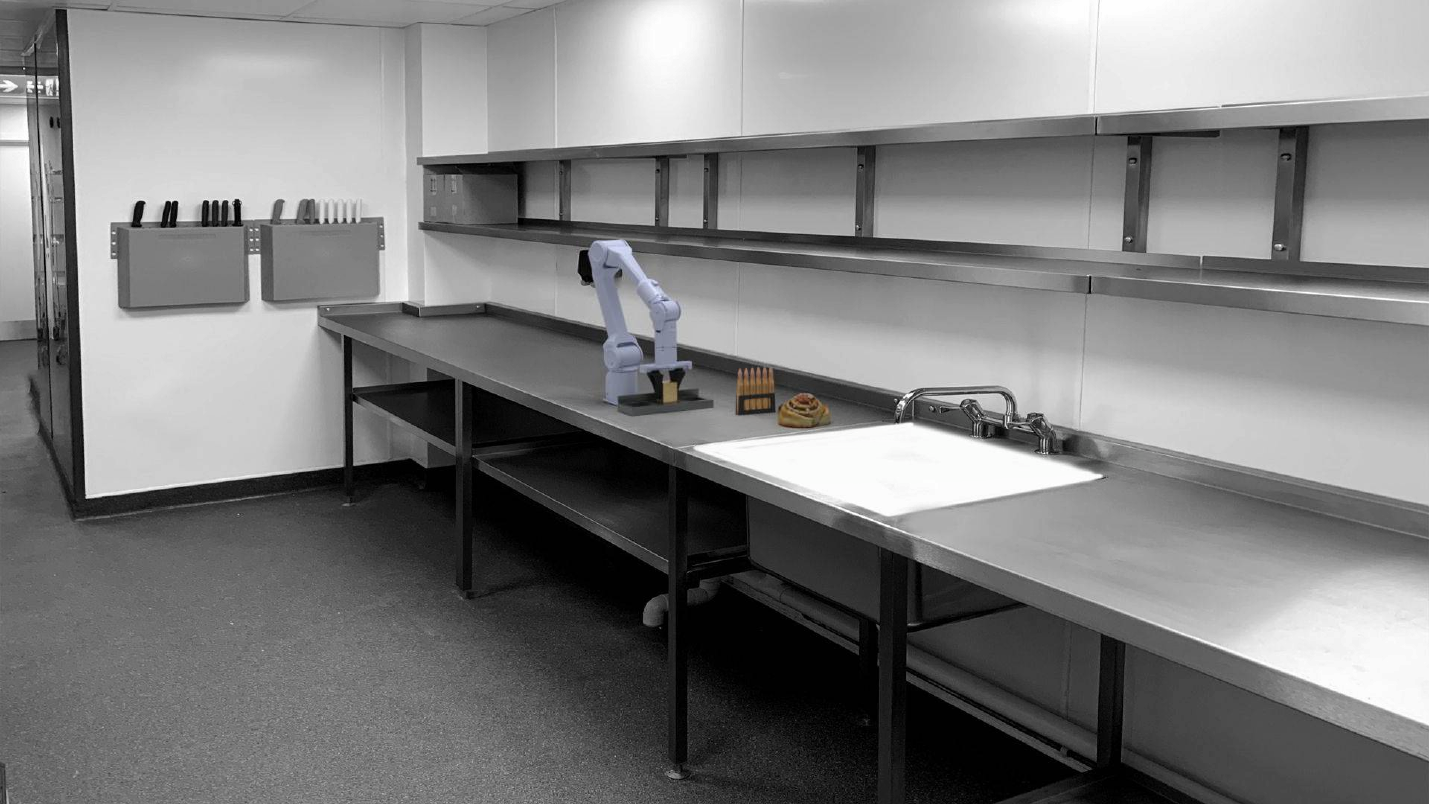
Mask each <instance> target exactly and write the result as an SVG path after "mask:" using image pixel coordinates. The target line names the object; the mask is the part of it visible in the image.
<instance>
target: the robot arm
mask: <svg viewBox="0 0 1429 804" xmlns="http://www.w3.org/2000/svg"><path fill="white" fill-rule="evenodd" d="M587 256H588V259H589V262H590V267H591V273H592V274H591V276H592V280H593V283H594V287H595V291H596V296H597V300H598V303H599V307H600V311H601V314H602V318H603V321H604V326H605V329H606V333H607V339H606V340H605V342H604V343H603V345H602V349H603V362H604V365H605V367H606V368H607V370H608V371H607V373H606V375H605V398H603V399H602V401H603V402H606V403H609V404H612V405H615V406H618V398H617V396H622V395H632V394H638V370H639V373H640V374H646V375H647V377H648V379H649V380H650V383H651V385H652V389H653V392H655V396H656V399H662V381H664V374H663V373H662V372H668V375H669V380H671V381H675V382H677V395H678V390H680V386H681V384H682V382H683V379H684V377H685V376H686V370H692V369H693V361H691V360H686V361H685V360H684V361H683V360H681V361H680V360H679V361H677V360H678V355H677V353H678V352H677V351H678V349H677V345H678V344H677V342H678V341H677V322H678V320H680V317H681V315H682V307H681V305H680V304H679V302H678V300H676V299H674V298H673V299H672V298H670V297H669V296H668V295H667V294H666V293H665V292H664V290H663V289H662V288H661V287H660V286H659V282H658V281H657V280H654V279H653V278H648V277H647V275H646V274H645V273H644V271H643V270H642V268H641V266H640V265H639V263H638V262H637V260H636V258H635V257H634V256H633V249H632V247H631V246H629V244H628V242H627V241H626V240H625V239H621V238H620V239H615V240H613V239H612V240H594V241H593V242H592V244H591V246H590V248H589V250H588V252H587ZM620 269H621V270H622V272H623V273H624V274H626V276H627V277H628V278H629V279H630V280H631V281H632V283H633V284H634V285H635V286H636V294H637V295H638V296H639V298H640V299H641V300H642V302H643V304H645V306H646V307H647V308H648V309H649V312H648V313H649V315H648V316H649V318H650V320H651V322H652V329H653V330H654V362H652V363H646V364H642V363H643V360H644V353H643V350H642V348H641V346H640V345H639V343H638V340H637V338H636V337H635V336H634V335H632V334H631V333H630V332H629V330H628V326H627V323H626V319H625V315H624V312H623V308H622V304H621V300H620V297H619V293H618V288H617V286H616V282H615V275H616V273H618V271H619V270H620Z"/></svg>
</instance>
